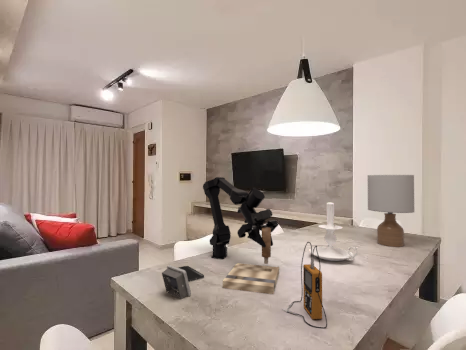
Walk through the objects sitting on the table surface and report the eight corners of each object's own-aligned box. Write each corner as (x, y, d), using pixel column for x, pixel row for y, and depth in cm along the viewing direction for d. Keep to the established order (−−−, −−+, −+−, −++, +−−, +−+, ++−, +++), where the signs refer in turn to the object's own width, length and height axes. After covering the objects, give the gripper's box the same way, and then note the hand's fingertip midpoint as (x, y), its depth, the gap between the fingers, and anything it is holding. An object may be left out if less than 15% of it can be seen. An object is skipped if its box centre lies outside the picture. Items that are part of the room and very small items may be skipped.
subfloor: (222, 287, 90) (222, 280, 90) (237, 269, 109) (237, 263, 109) (273, 294, 85) (273, 286, 85) (279, 273, 104) (279, 267, 104)
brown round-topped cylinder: (260, 264, 99) (260, 228, 99) (262, 261, 103) (262, 226, 103) (269, 265, 98) (270, 229, 98) (271, 262, 101) (271, 227, 102)
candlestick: (344, 271, 107) (343, 205, 108) (300, 256, 128) (299, 201, 129) (371, 263, 118) (370, 203, 119) (326, 250, 139) (326, 199, 140)
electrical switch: (191, 296, 84) (189, 268, 83) (179, 303, 80) (177, 274, 79) (174, 288, 89) (172, 262, 89) (161, 294, 85) (159, 268, 85)
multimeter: (276, 302, 79) (276, 238, 80) (307, 301, 80) (307, 238, 81) (291, 330, 65) (291, 251, 65) (329, 328, 65) (328, 251, 66)
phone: (187, 265, 111) (205, 275, 99) (187, 268, 111) (205, 278, 99) (170, 269, 106) (187, 280, 95) (170, 271, 106) (187, 283, 95)
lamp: (361, 243, 154) (361, 175, 155) (376, 237, 170) (375, 175, 171) (408, 252, 136) (407, 174, 137) (419, 244, 152) (418, 175, 153)
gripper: (242, 203, 98) (261, 237, 89) (275, 201, 110) (295, 231, 101) (229, 221, 104) (247, 254, 95) (262, 217, 116) (280, 246, 107)
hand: (268, 246), depth 99 cm, fingers closed on brown round-topped cylinder, 4 cm apart
